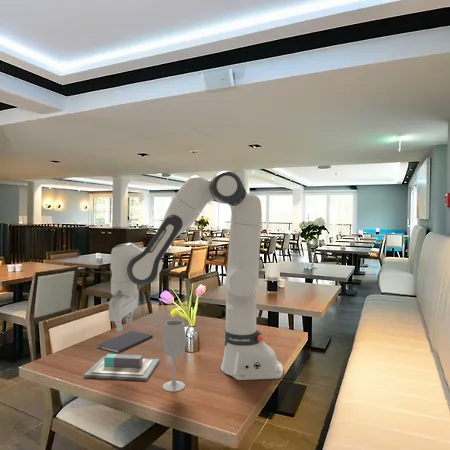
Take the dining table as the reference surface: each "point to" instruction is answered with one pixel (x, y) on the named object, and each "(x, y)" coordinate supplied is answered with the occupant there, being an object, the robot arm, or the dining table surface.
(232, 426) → the dining table surface
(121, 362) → the marker
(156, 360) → the notepad
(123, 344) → the notebook
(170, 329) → the wineglass
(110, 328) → the dining table surface
